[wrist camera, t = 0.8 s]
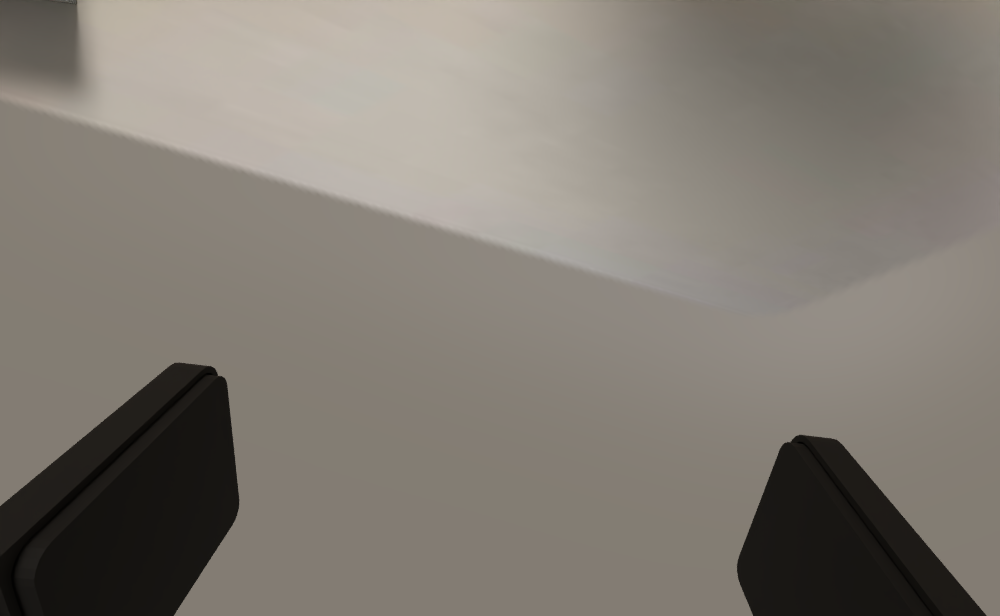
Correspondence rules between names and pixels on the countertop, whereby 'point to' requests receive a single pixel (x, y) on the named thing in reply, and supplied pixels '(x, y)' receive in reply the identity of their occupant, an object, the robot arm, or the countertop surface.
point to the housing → (67, 0)
